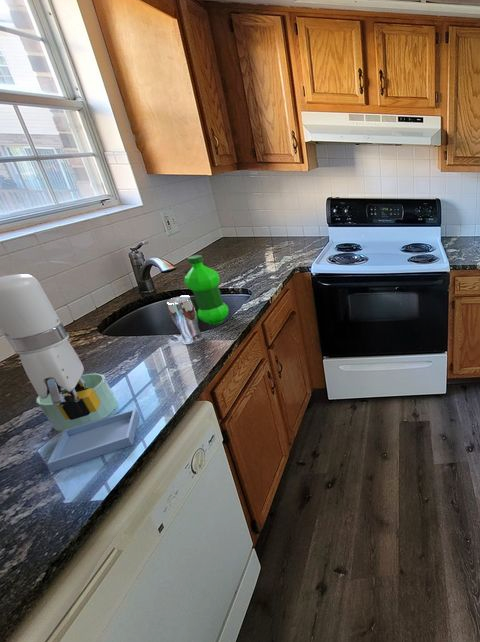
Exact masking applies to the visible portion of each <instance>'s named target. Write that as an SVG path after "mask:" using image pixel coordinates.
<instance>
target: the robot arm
mask: <svg viewBox="0 0 480 642" xmlns="http://www.w3.org/2000/svg"><path fill="white" fill-rule="evenodd" d="M0 331H1V332H2V334H3V336H4V338H5V339H6V341H7V342H8V343H9V345H10V347H11V348H12V350H13V351H14V353H15V354H16V355H19V359H20V362H21V365H22V367H23V369H24V370H23V371H24V372H25V374H26V375H27V378H28V379H29V381H30V383H31V385H32V386H33V389H34V390H35V393H36V394H37V395H38V396H39V397H40V398H42V399H44V398H47V397H48V396H49V394H50V395H51V399H52V403H53V404H59V405H60V406H61V407H62V408H63V410H64V411H65V413H66V414H67V416H68V418H69V419H70V420H74V419H77V418H80V417H84V416H87V415H89V414H90V411H89V409H88V407H87V406H86V404H85V402H84V401H83V399H79V397H78V395H77V393H76V392H79V391H83V390H86V389H88V388H86V387H87V386H86V383H85V382H84V380H83V379H82V375H84V374H83V373H84V369H85V368H84V365H83V363H82V361H81V358H80V357H79V355H78V354H77V352H76V350H75V349H74V348H73V346H72V344H71V342H70V341H69V338H70V335H69V333H68V331H67V330H66V328H65V326H64V324H63V323H62V321H61V319H60V318H59V316H58V314H57V312H56V310H55V308H54V307H53V305H52V303H51V301H50V299H49V297H48V296H47V294H46V292H45V291H44V289H43V287H42V285H41V283H40V282H39V280H38V279H37V278H36V277H34V276H33V275H31V274H28V273H17V274H10V275H3V276H0ZM62 388H66V389H64V390H61V389H62ZM69 392H70V393H69ZM65 393H68V394H71V396H69V395H68V394H67V396H63V395H62V394H65Z"/></svg>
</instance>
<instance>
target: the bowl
mask: <svg viewBox="0 0 480 642" xmlns="http://www.w3.org/2000/svg"><path fill="white" fill-rule="evenodd" d="M82 379H83V380H84V382H85V383H86V386H87V387H86V388H88V389H90V388H93V390H94V391H95V393H96V395H97V397H98V399H99V400H100V405H99V407H98V410H97V411H95V412H92V413H90V414H89V415H87V416H84V417H80V418H77V419H74V420H70V419H68V420H66V419H65V418H64V416H63V414H62V413H61V411H60V410H59V408H58V406H57V404H53V403H52V399H51V395H50V394H49V396H48V397H47V398H44V399H42V398H40V397H39V395H38V396H36V398H35V399H36V401H35V402H36V404H37V405H38V407H39V409H40V410H41V412H42V413H43V415H44V417H45V418H46V419H47V421H48V422H49V424H50V426H51V427H52V428H53V430H55V431H56V432H60V433H61V432H62V433H63V431H64V430H66V429H70V428H73V427H76V426H80V425H83V424H86V423H90V422H93V421H96V420H100V419H103V418H106V417H109V415H110V414H112V413H113V412H114V411H115V410H116V408H117V407H118V404H119V402H118V400H117V398H116V396H115V394H114V392H113V390H112V388H111V386H110V384H109V383H108V381H107V379H106V377H105V375H104V374H101V373H95V372H94V373H86V374H82ZM64 389H66V388H62V389H61V390H64ZM69 393H70V392H69ZM67 394H68V393H65V394H62V395H63V396H64V395H67ZM114 409H115V410H114Z"/></svg>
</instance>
